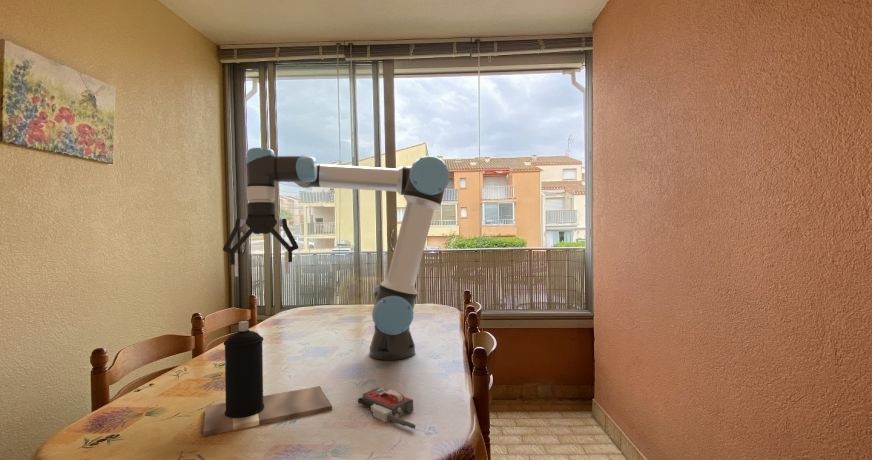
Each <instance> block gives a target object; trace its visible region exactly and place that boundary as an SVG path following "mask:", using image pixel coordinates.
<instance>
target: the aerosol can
mask: <svg viewBox="0 0 872 460" xmlns="http://www.w3.org/2000/svg"><path fill="white" fill-rule="evenodd" d="M263 342H264V337H263V336H261V335H260V334H259V333H258V332H257V331H254V330H250V329H249V321H248V320H242V321H239V322H238V331H237V332H234V333H232V334H230V335H229V336H228V338H226V340H225V341H223V346H224V362H225V363H224V371H225V372H224V374H225V375H224V376H225V378H224V380H225V381H224V382H225V390H224V391H225V403H226V410H225V415H226V416H227V417H230V418H243V417H248V416H252V415H255V414H257V413H259V412H261V411H262V410H263V409H264V404H263V396H264V368H263V367H264V366H263V365H264V364H263V363H264V362H263V357H264V356H263Z"/></svg>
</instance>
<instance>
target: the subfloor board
mask: <svg viewBox="0 0 872 460" xmlns="http://www.w3.org/2000/svg"><path fill="white" fill-rule="evenodd" d="M263 404H264V409H263V410H262V411H261V412H259V413H257V414H255V415H252V416H248V417H243V418H230V417H227V416H226V415H225V410H226V402H222V403H217V404H210V405H205V412H204V420H203V427H202V437H209V436H212V435H217V434H222V433H223V434H224V433H227V432H232V431H237V430H241V429H247V428H252V427H256V426H261V425H267V424H271V423H277V422H280V421H286V420H291V419H295V418H301V417H304V416H305V417H307V416H311V415H315V414H319V413H320V414H321V413H325V412H330V411H333V405H332V403H331V402H330V400H329V398H328V397H327V395H326V394H325V392H324V391H323V389H322V387H321V385H317V386H313V387H307V388H301V389H295V390H294V389H293V390H290V391H285V392H284V391H283V392H279V393H273V394H272V393H271V394H267V395H263Z"/></svg>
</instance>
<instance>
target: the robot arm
mask: <svg viewBox="0 0 872 460" xmlns="http://www.w3.org/2000/svg"><path fill="white" fill-rule="evenodd" d="M245 166H246V200H247V201H248V203H247V204H246V205H247V206H246V207H247V209H246V210H247V212H246V213H247V215H246V219H242V218H241V219H240V218H236V219H235V221H234V222H235V223H234V227H233V228H232V231H231V233H230V234H229V237H228V238H227V240H226V243H224V245H223V247H222V251H223V252H227V253H229V257H230V258H229V264H230V265H231V266H234V278H235V277H237V278H238V277H239V262H238V261H239V260H238V259H239V254H238V252H236V251H237V250H239V248H240V247H241V246H242V245H243V243H245V241H246V240H248V238H249V237H250V236H251V235H252V234H255V235H260V234H264V235H267V234H268V235H269V234H271V235H272V236H273V237H274V238H275V239H276V240H277V242H279V243H280V245H282V246H283V247H284V248H285V250H286V251H284V274H286V275H288V274H290V273H289V272H290V271H289V270H290V269H289V267H290V265H289V263H292V262H293V252H294V251H295V250H298V249H299V245H298V243H297V241H296V240H295V237H294V235H293V234H292V232H291V230H290V228H289V227H288V222H287V219H286V218H281V219H277V217H276V203H275V202H274V201H276V185H275V184H276V182H277V183H278V182H279V183H280V182H282V183H294V184H296V185H297V186H299V187H301V188H307V189H308V188H330V189H344V190H345V189H349V190H363V191H379V192H380V191H382V192H383V191H384V192H396V193H398V194H399V195H401V196H403V198H404V199H405V201H406V204H405V205H406V206H405V209H404V213H403V217H402V220H401V224H400V227H399V231H398V236H397V239H396V244H395V247H394V250H393V255H392V258H391V262H390V266H389V268H388V274H387V277H386V279H385V280H383V281H381V282H380V283H379V285H376V286H374V288H373V300H374V301H373V302H374V305H373V309H372V314H371V315H372V320H373V323H374V332H373V335H372V339H371V343H370V345H369V356H370V357H371V358H373V359H377V360H383V361H396V360H403V359H407V358H410V357H413V356H414V355H415V354H416V345H415V342H414V339H413V336H412V333H411V331H410V327H411V324H412V322H413V320H414V309H415V308H414V307H415V305H416V300H417V297H418V290H417V288H416V287H415V284H416V281H417V276H418V273H419V270H420V265H421V261H422V257H423V253H424V251H425V246H426V242H427V239H428V235H429V231H430V227H431V224H432V221H433V215H434V212H435V210H436V209H439V207H441V204H442V202H443V201H442V200H443V197H444V193H445V190H446V188H447V187H448V185H449V182H450V171H449V168H448V166H447V164H446V163H445V162H444V160H443V159H441V158H439V157H438V156H437V157H436V156H434V155H433V156H432V155H425V156H422V157H419V158H417V159H416V160H415V161H414V162H413V163H412V165H407V166H406V165H401V166H399V167H398V168H391V167H390V168H389V167H376V166H375V167H373V166H372V167H371V166H359V165H358V166H357V165H344V164H343V165H340V164H338V165H337V164H328V163H327V164H326V163H325V164H323V163H317V159H316V158H315V157H313V156H306V155H298V156H296V155H291V156H290V155H288V156H287V155H284V156H282V155H276V154H275V152H274V150H273V149H271V148H266V147H251V148H249V149H248V150H247V152H246V164H245ZM277 224H278V226H279V227H282V230H283V231H284V233H285V235H286V237H287V239H288V240H289V243H290V245H291V246H290V245H289V244H288V242H287V241H286V240H285V239H284V238H283V237H282V236H281V234H280V233H278V231H277V230H276V229H275V227H276V225H277ZM244 225H246V226H247V227H248V228H249V229H248V230H247V231H246V232H245V233H244V234H243V235H242V237H241V238H240V239H239V240H238V241H236V243H235V244H234V245H233V246H232V247H230V246H231V244H232V242H233V241H234V240H235V237H236V235H237V234H238V232H239V230H240V227H241V228H242V227H243V226H244Z"/></svg>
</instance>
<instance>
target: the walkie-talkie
mask: <svg viewBox="0 0 872 460" xmlns="http://www.w3.org/2000/svg"><path fill="white" fill-rule="evenodd" d="M357 403H358V404H360V405H362V408H365V409H367V410H369V411H371V412H372V414H373V418H375V419H378V420H380V421H381V422H384V423H387V422H394V423H396V424H398V425H401V426H403V427H405V426H406V427H408V428H411V429H413V430H414V429H416V424H414V423H411V422H410V421H408V420H405V419H403V418H401V417H402V416H404V415H407V414H411V413H412V412H413V411H414V400H413V399H412V398H410V397H407V396H404V394H403V393H402V392H399V391H396V390H394V389H389V390H387V389H384V387H382V388H380V387H376V388H373V389H371V390H368V391H366V392H364V393H362V397H359V398H358V399H357Z"/></svg>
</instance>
